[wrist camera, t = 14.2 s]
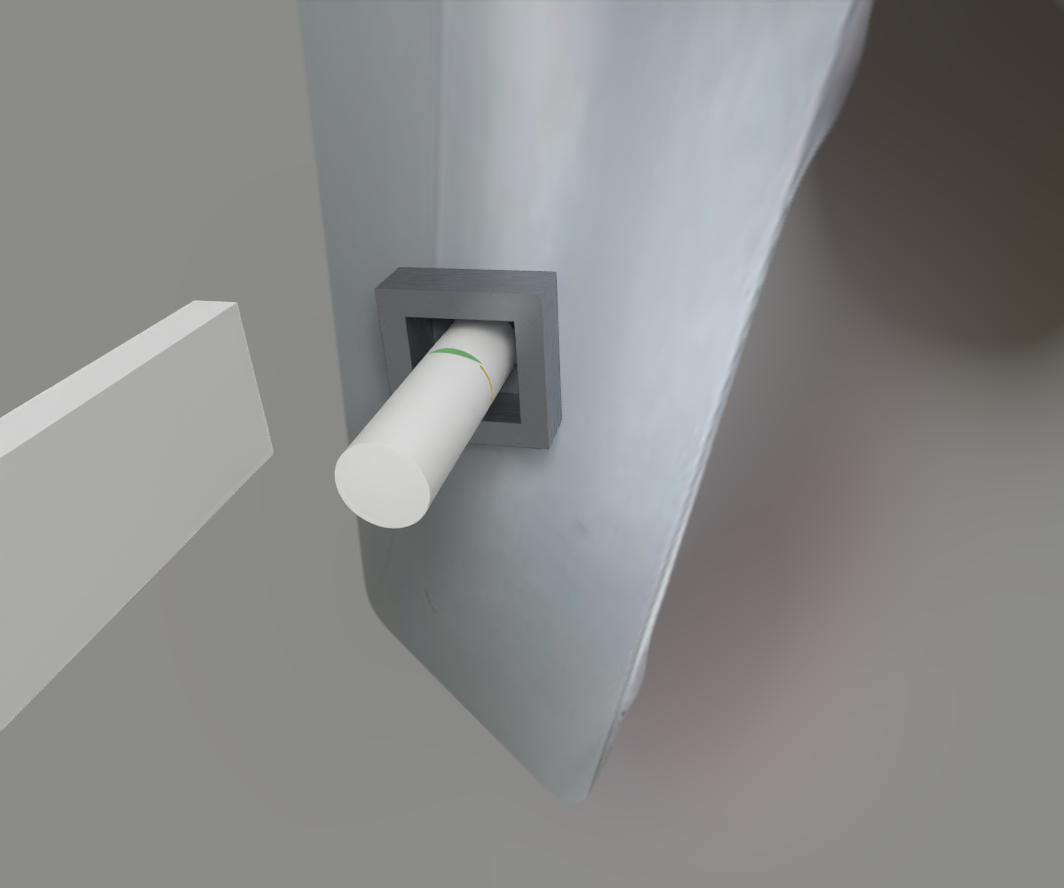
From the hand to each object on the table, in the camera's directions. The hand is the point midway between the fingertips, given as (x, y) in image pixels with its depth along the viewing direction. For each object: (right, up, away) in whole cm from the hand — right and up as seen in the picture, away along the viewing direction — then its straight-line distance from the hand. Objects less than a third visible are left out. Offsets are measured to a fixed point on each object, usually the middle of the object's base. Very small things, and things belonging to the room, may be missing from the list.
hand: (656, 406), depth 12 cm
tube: (-5, +5, +35) cm, 36 cm away
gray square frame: (-5, +5, +35) cm, 36 cm away
